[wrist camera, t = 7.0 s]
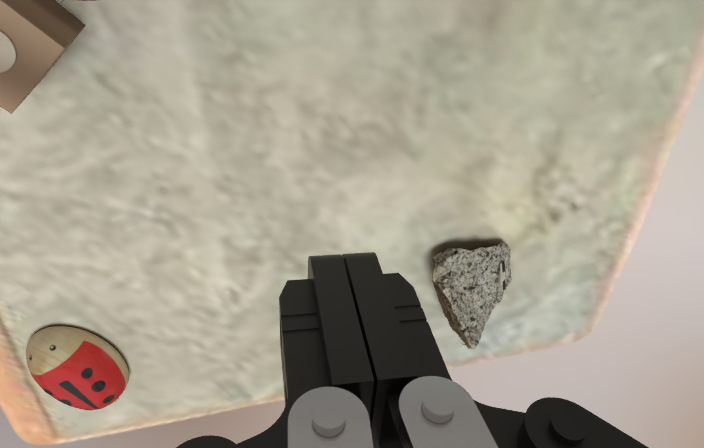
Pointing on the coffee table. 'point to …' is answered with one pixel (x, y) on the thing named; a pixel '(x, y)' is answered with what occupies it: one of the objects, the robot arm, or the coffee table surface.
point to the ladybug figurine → (76, 367)
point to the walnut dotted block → (31, 45)
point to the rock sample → (471, 287)
